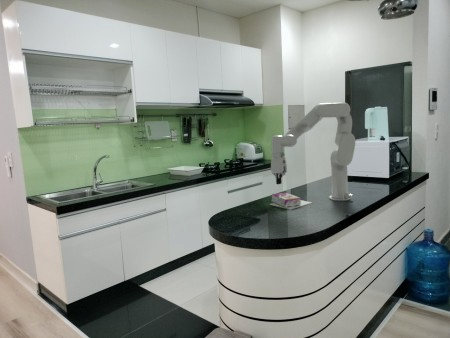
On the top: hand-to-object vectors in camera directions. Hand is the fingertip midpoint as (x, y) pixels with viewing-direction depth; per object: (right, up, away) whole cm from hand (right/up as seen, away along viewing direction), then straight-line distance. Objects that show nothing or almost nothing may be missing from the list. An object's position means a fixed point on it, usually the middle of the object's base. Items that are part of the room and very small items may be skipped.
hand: (278, 183), depth 216 cm
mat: (+7, -12, -6) cm, 15 cm away
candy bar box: (0, -8, +1) cm, 8 cm away
